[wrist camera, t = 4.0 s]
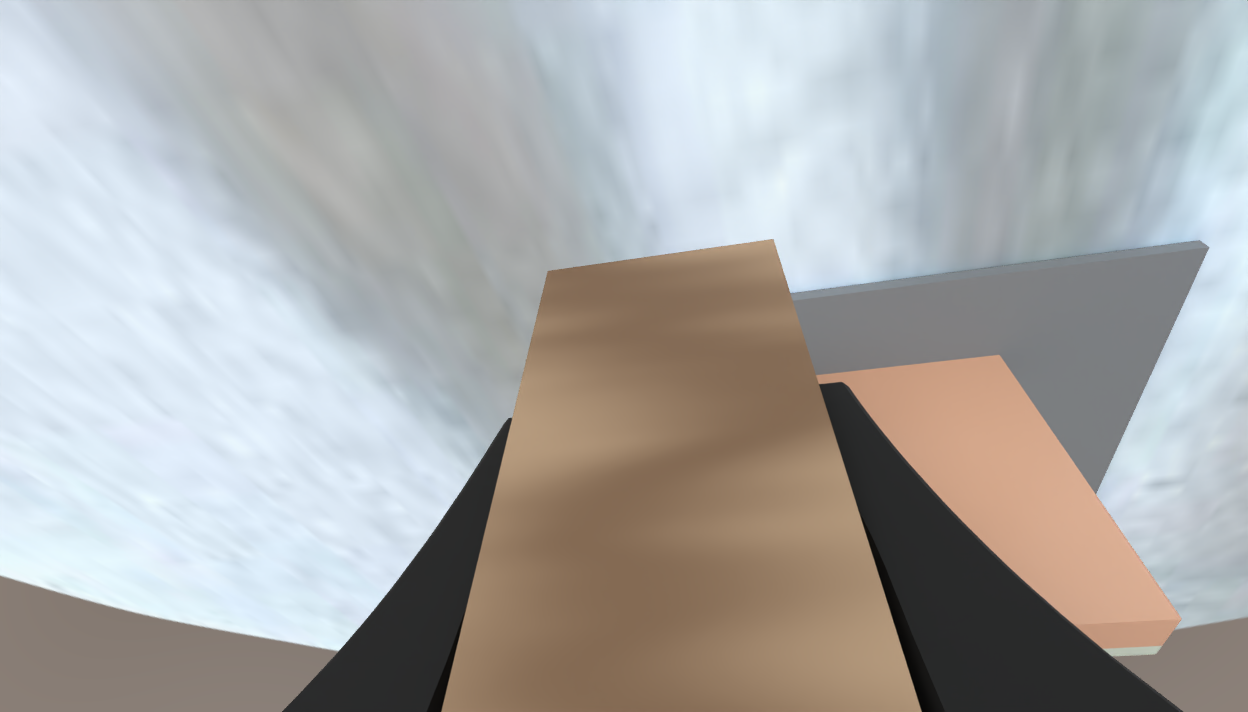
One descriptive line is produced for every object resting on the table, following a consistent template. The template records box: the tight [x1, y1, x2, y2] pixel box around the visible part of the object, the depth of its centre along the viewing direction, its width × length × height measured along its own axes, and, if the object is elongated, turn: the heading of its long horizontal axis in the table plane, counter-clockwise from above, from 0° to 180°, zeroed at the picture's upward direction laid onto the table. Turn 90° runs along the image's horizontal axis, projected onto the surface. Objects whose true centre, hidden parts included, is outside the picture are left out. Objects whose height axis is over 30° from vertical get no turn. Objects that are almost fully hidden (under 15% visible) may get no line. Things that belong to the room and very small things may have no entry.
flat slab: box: [816, 355, 1181, 656], centre depth 18 cm, size 6×2×9 cm, turn 100°
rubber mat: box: [790, 240, 1209, 494], centre depth 24 cm, size 16×16×1 cm
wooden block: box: [441, 239, 922, 712], centre depth 9 cm, size 4×4×9 cm
